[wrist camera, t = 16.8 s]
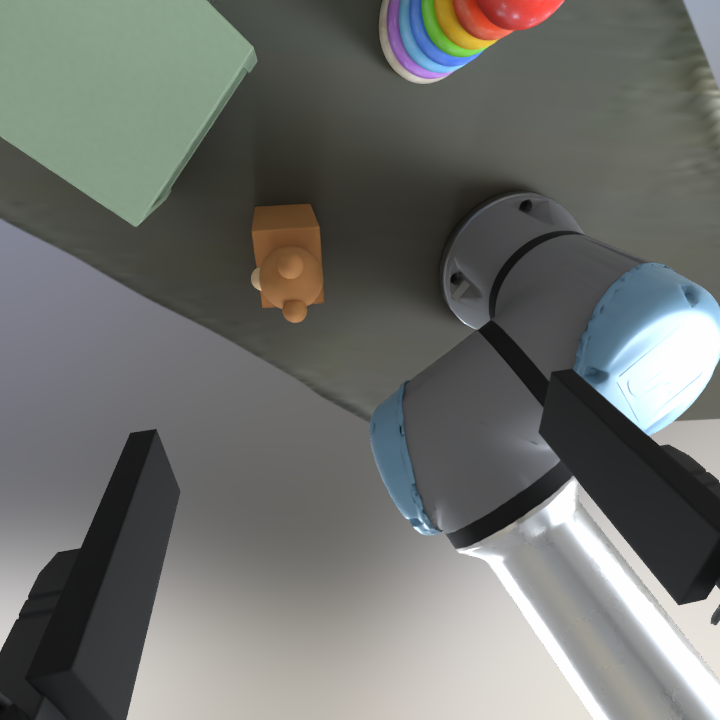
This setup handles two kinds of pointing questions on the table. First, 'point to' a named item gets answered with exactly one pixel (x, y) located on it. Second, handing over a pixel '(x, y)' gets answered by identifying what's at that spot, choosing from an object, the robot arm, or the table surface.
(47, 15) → the pale green square stand
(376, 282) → the table surface
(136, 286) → the table surface
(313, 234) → the plush bear
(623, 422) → the robot arm
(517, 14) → the stacking toy
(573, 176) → the table surface
